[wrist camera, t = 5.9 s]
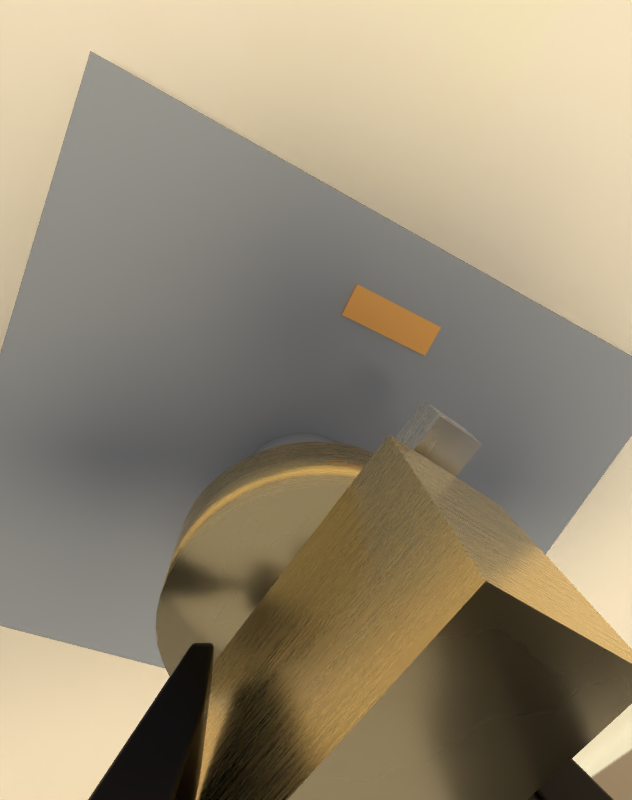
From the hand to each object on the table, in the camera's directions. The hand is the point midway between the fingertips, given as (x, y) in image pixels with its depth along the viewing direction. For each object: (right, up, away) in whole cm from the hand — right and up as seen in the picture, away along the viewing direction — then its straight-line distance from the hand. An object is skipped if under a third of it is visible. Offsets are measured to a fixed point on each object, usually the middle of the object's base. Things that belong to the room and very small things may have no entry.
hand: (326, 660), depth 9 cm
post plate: (-1, +2, +8) cm, 8 cm away
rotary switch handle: (0, +1, +3) cm, 3 cm away
